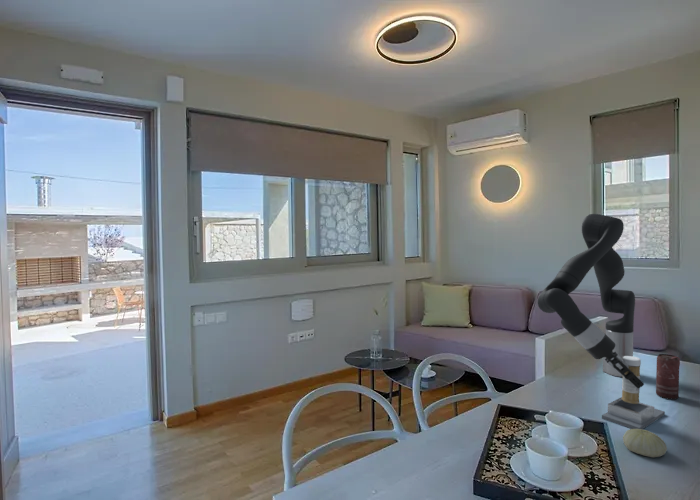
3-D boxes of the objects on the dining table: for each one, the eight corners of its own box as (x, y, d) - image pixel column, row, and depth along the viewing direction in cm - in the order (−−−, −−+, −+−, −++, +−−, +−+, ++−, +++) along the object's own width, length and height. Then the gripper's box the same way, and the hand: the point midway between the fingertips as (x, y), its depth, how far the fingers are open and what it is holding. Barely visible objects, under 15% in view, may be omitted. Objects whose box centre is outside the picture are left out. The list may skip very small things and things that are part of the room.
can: (683, 400, 139) (684, 359, 138) (661, 399, 140) (662, 358, 139) (673, 393, 145) (674, 353, 144) (652, 392, 146) (653, 353, 145)
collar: (607, 413, 128) (607, 404, 128) (621, 406, 133) (621, 397, 133) (641, 424, 120) (641, 414, 120) (654, 416, 125) (654, 406, 125)
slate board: (601, 418, 127) (601, 415, 127) (628, 403, 137) (628, 400, 137) (639, 431, 119) (639, 427, 118) (664, 414, 129) (664, 411, 129)
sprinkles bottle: (628, 397, 129) (629, 354, 129) (643, 403, 125) (644, 359, 124) (617, 399, 128) (618, 356, 127) (632, 405, 123) (633, 360, 123)
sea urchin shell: (658, 458, 102) (633, 425, 106) (633, 468, 107) (611, 437, 112) (677, 448, 106) (653, 417, 111) (653, 459, 111) (631, 429, 116)
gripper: (608, 338, 121) (657, 384, 118) (599, 327, 135) (642, 368, 131) (587, 354, 123) (634, 399, 120) (580, 341, 137) (622, 382, 133)
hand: (638, 383), depth 125 cm, fingers closed on sprinkles bottle, 4 cm apart
